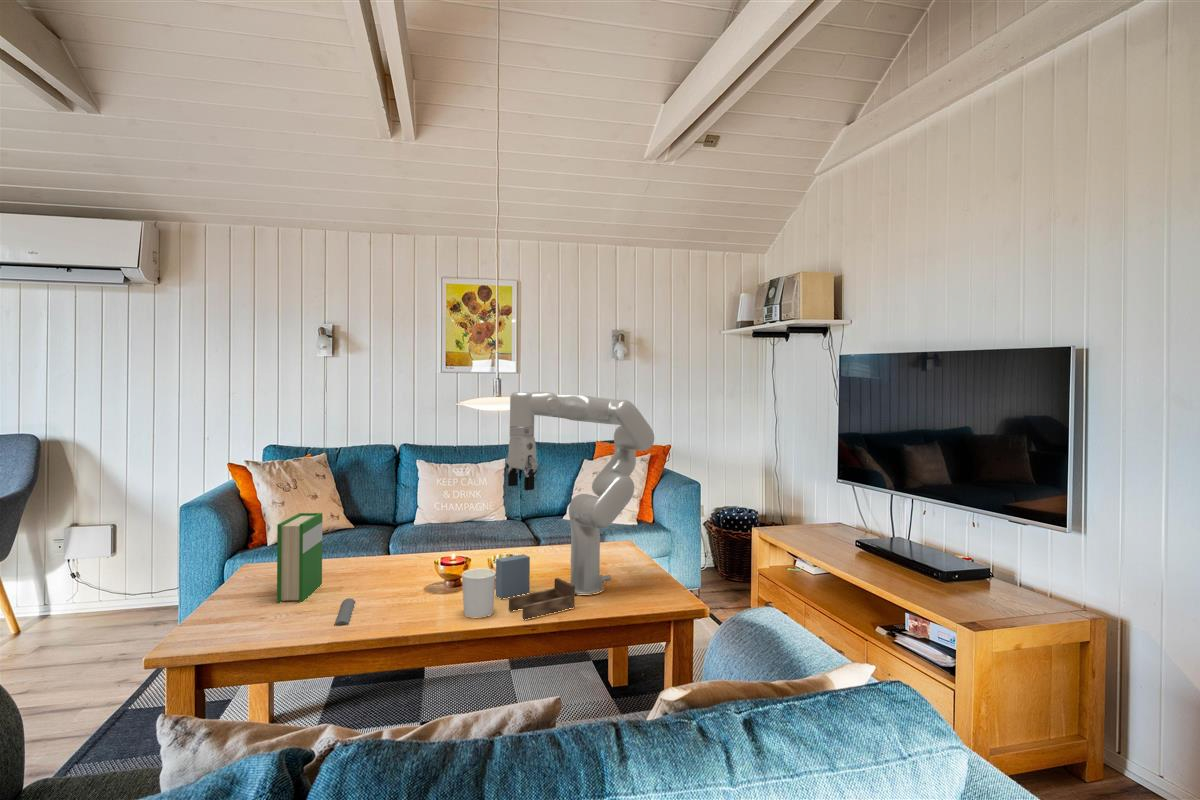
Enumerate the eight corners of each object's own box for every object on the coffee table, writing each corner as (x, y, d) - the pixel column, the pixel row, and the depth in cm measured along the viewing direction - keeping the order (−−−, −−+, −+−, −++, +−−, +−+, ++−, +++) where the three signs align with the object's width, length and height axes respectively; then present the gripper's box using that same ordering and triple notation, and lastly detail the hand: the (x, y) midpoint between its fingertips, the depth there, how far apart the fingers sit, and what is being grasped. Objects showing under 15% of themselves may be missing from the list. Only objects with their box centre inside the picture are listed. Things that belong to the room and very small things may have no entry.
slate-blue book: (523, 590, 204) (523, 554, 204) (529, 594, 201) (529, 557, 201) (495, 596, 198) (496, 558, 198) (501, 599, 195) (502, 561, 195)
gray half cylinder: (356, 603, 191) (356, 597, 191) (349, 626, 173) (349, 620, 173) (341, 604, 190) (341, 598, 190) (332, 628, 172) (332, 621, 171)
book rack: (557, 600, 195) (557, 578, 195) (574, 608, 188) (574, 585, 188) (508, 611, 185) (509, 587, 185) (524, 620, 177) (524, 596, 177)
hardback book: (302, 602, 190) (302, 524, 189) (276, 603, 189) (277, 524, 189) (321, 584, 207) (322, 513, 207) (298, 585, 207) (299, 513, 206)
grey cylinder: (462, 621, 177) (463, 579, 176) (460, 609, 186) (460, 569, 186) (497, 618, 179) (497, 576, 179) (493, 606, 189) (493, 567, 189)
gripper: (547, 433, 187) (546, 490, 187) (518, 430, 201) (517, 483, 201) (526, 434, 182) (524, 492, 182) (497, 430, 196) (496, 485, 196)
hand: (520, 487), depth 192 cm, fingers open, 9 cm apart
